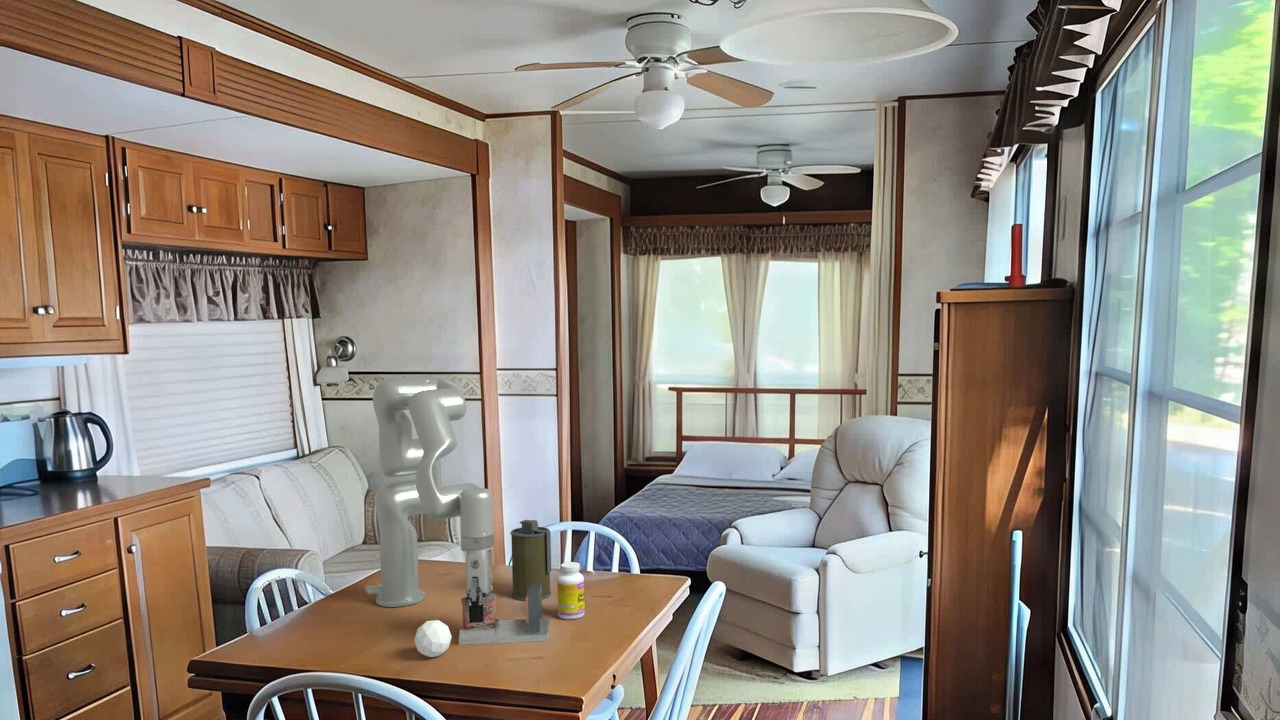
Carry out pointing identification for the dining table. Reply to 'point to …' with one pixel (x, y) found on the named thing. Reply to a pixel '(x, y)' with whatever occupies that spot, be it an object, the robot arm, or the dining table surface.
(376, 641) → the dining table surface
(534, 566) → the canister
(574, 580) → the supplement bottle
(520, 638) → the finger rail
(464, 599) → the lighter
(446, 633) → the geometric ball
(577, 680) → the dining table surface
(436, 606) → the dining table surface
